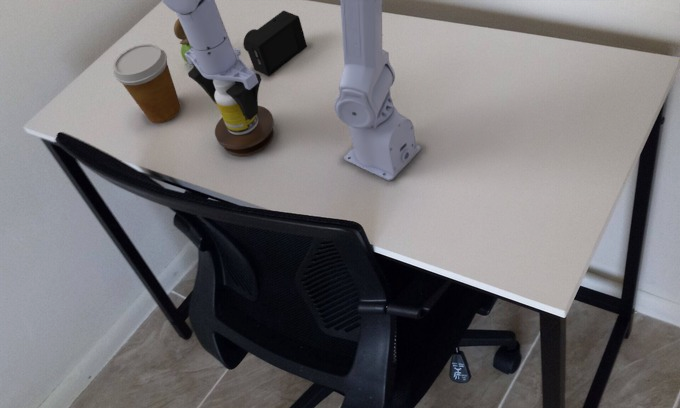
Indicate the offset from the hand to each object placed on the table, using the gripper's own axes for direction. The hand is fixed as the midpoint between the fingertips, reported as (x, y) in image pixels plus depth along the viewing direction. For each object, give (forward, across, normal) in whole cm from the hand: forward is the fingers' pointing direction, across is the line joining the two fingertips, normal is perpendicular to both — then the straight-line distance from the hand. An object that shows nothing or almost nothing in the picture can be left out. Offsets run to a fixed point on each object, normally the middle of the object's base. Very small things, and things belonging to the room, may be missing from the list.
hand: (236, 108), depth 110 cm
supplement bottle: (+4, 0, 0) cm, 4 cm away
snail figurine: (+7, +25, -11) cm, 28 cm away
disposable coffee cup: (+7, +20, +3) cm, 21 cm away
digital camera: (+7, +11, -19) cm, 23 cm away
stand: (+7, 0, 0) cm, 7 cm away
